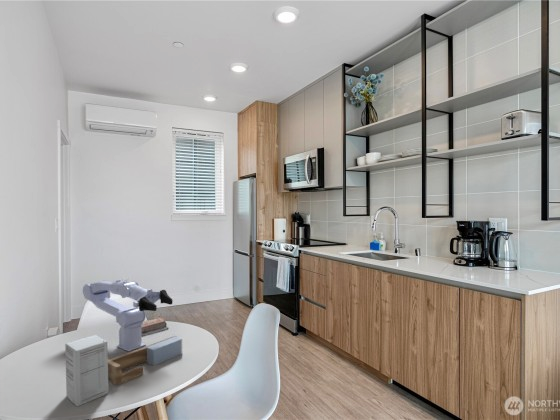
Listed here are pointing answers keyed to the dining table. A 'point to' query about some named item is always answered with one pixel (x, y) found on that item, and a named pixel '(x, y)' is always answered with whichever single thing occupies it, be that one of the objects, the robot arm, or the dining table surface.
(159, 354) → the boxed book
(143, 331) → the reddish brown block
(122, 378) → the brown wooden rack
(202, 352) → the dining table surface
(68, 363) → the supplement box
